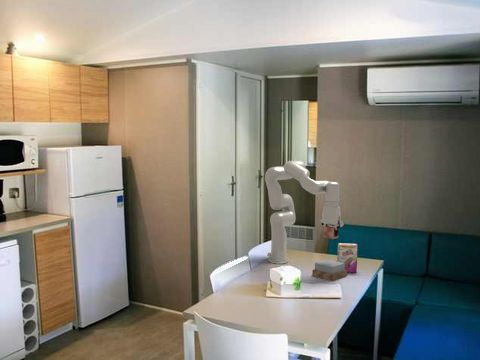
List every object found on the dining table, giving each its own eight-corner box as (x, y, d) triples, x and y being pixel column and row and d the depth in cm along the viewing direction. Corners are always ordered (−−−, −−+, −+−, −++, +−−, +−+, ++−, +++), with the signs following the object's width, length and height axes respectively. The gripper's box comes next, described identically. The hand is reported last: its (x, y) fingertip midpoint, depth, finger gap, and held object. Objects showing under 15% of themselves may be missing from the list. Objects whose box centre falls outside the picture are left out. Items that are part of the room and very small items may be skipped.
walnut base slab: (312, 276, 267) (312, 269, 267) (326, 271, 277) (326, 265, 277) (333, 282, 258) (333, 275, 257) (347, 277, 268) (347, 270, 267)
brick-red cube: (323, 237, 265) (323, 226, 265) (329, 235, 270) (329, 225, 269) (332, 239, 261) (332, 228, 261) (338, 237, 265) (338, 227, 265)
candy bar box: (337, 272, 275) (338, 244, 273) (336, 269, 280) (337, 242, 278) (357, 273, 274) (358, 245, 272) (355, 270, 279) (356, 243, 277)
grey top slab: (314, 269, 267) (314, 262, 267) (327, 265, 276) (327, 259, 275) (332, 274, 259) (332, 267, 258) (344, 270, 267) (344, 263, 267)
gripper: (315, 202, 267) (314, 234, 269) (341, 206, 255) (340, 239, 257) (322, 201, 272) (321, 232, 274) (349, 205, 260) (347, 237, 262)
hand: (331, 235), depth 265 cm, fingers closed on brick-red cube, 6 cm apart
